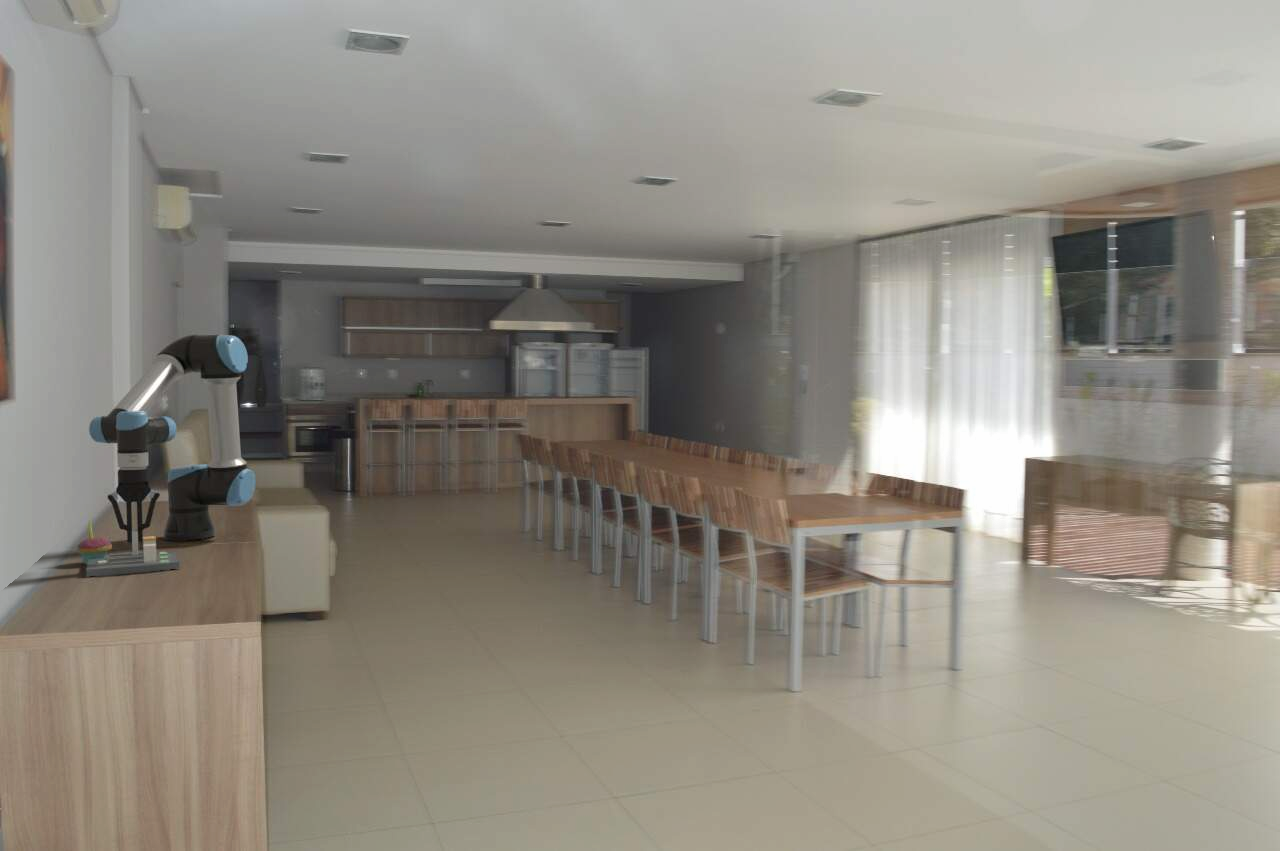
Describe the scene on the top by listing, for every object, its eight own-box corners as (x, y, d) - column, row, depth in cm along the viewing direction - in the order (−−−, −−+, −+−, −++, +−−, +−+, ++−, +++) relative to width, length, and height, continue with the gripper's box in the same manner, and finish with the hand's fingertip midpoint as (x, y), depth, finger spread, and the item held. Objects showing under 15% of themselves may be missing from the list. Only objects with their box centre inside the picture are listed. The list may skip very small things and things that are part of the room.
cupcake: (70, 564, 273) (69, 521, 272) (99, 559, 280) (98, 517, 279) (90, 567, 269) (88, 524, 268) (119, 562, 276) (117, 519, 275)
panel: (89, 565, 271) (88, 540, 271) (176, 558, 281) (176, 534, 281) (86, 578, 255) (85, 551, 255) (179, 569, 265) (178, 544, 265)
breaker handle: (144, 557, 271) (143, 537, 270) (156, 556, 272) (155, 536, 272) (144, 559, 268) (143, 539, 268) (156, 558, 269) (155, 538, 269)
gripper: (105, 470, 261) (108, 558, 262) (160, 468, 267) (162, 554, 268) (106, 467, 267) (108, 553, 269) (159, 465, 273) (161, 549, 275)
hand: (135, 554), depth 268 cm, fingers closed
